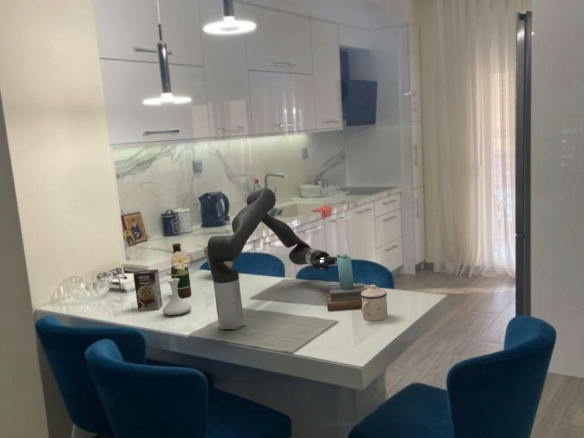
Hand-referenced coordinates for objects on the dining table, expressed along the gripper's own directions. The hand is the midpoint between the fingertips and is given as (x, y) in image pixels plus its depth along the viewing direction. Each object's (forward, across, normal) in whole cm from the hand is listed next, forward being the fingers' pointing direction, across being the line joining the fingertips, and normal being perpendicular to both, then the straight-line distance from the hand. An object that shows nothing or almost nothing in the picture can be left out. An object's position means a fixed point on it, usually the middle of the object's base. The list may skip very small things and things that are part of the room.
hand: (337, 265), depth 218 cm
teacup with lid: (+28, -3, +14) cm, 31 cm away
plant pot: (-73, -24, +14) cm, 78 cm away
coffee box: (-46, -66, +14) cm, 82 cm away
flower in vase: (-31, -57, +14) cm, 67 cm away
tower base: (+6, 0, +14) cm, 15 cm away
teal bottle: (+6, 0, +8) cm, 10 cm away
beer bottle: (-54, -50, +14) cm, 75 cm away
